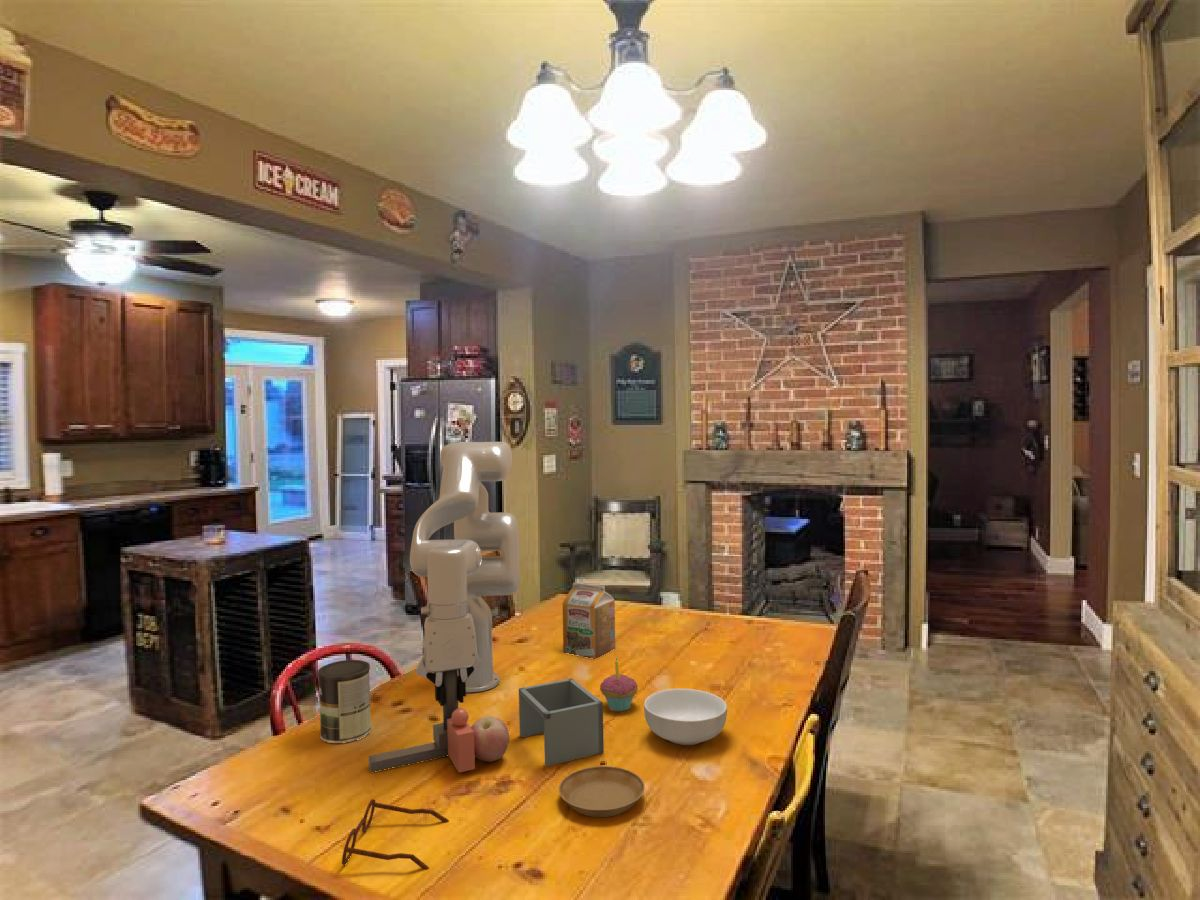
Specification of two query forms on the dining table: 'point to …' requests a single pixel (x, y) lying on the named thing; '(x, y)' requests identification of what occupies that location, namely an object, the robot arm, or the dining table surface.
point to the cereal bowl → (685, 715)
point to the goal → (562, 720)
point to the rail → (405, 756)
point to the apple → (490, 738)
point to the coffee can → (344, 701)
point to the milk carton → (588, 621)
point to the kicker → (455, 727)
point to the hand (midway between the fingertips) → (450, 701)
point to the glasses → (364, 826)
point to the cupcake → (619, 690)
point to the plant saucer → (601, 790)
